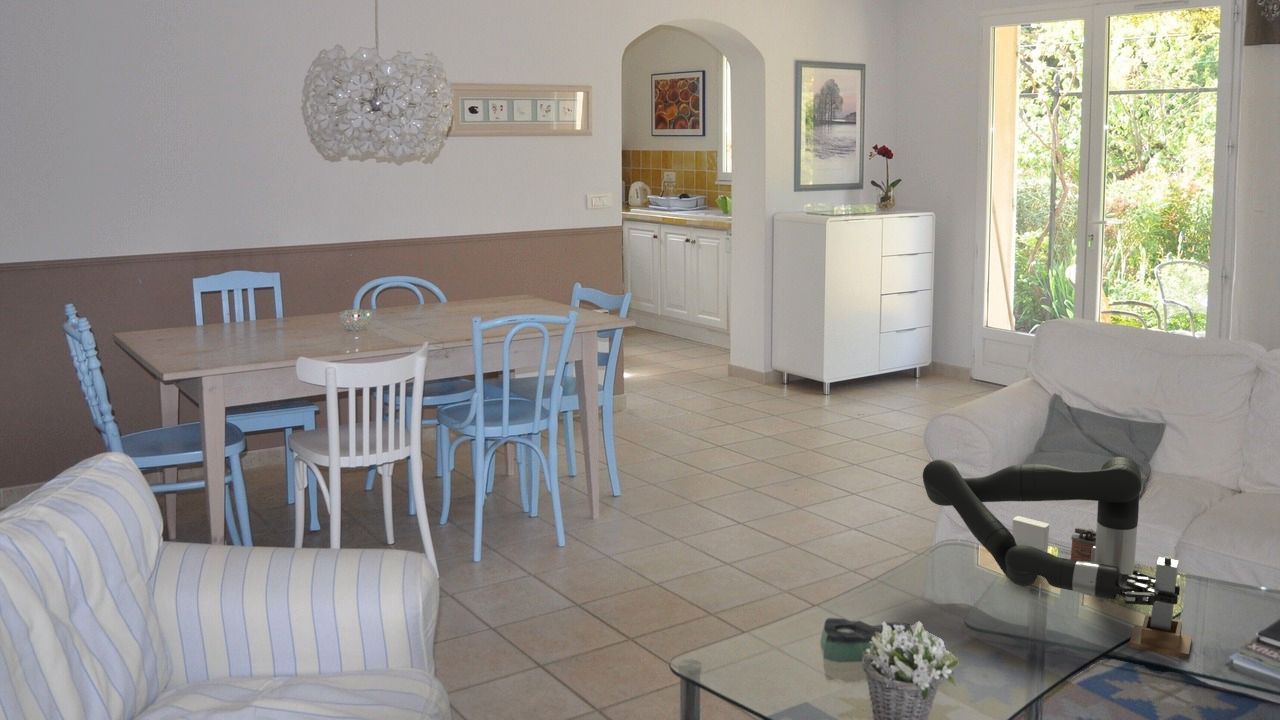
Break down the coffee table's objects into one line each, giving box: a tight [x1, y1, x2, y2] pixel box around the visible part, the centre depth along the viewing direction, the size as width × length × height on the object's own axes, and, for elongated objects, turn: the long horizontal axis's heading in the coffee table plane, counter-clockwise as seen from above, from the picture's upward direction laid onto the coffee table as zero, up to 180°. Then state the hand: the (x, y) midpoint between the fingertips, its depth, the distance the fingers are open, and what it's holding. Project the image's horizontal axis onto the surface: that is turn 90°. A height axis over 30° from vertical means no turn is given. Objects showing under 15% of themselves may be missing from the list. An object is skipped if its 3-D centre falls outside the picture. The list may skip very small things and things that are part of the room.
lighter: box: [1070, 527, 1096, 562], centre depth 291 cm, size 8×3×10 cm, turn 58°
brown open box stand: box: [1128, 613, 1193, 660], centre depth 252 cm, size 12×9×5 cm
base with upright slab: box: [1011, 515, 1050, 553], centre depth 292 cm, size 9×9×12 cm
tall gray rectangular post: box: [1150, 555, 1179, 631], centre depth 249 cm, size 4×4×17 cm
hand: (1178, 595), depth 248 cm, fingers closed on tall gray rectangular post, 4 cm apart
